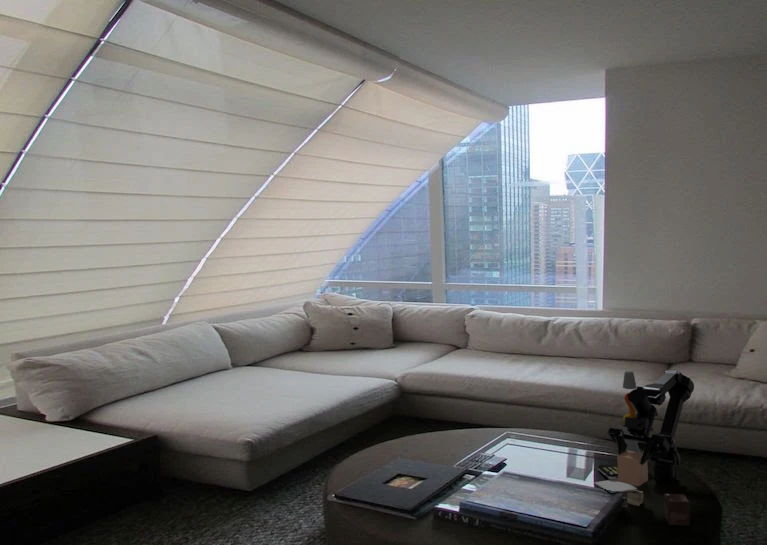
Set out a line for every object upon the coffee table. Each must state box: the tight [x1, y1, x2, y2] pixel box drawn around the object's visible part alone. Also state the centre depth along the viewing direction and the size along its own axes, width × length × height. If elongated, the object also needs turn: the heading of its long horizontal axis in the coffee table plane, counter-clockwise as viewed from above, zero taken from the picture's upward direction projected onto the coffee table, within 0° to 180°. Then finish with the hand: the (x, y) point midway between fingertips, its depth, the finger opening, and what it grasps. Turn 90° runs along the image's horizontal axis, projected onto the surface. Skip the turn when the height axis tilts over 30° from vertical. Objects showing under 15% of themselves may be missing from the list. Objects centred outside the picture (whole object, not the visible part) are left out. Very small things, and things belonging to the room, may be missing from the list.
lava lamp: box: [618, 370, 641, 453], centre depth 247 cm, size 9×9×35 cm
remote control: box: [597, 463, 618, 480], centre depth 237 cm, size 6×13×2 cm, turn 2°
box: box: [663, 493, 691, 526], centre depth 197 cm, size 6×6×7 cm
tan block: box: [616, 450, 649, 487], centre depth 212 cm, size 7×7×8 cm
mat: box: [593, 479, 638, 493], centre depth 226 cm, size 10×10×1 cm
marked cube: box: [626, 489, 644, 507], centre depth 212 cm, size 4×4×4 cm
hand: (630, 461), depth 211 cm, fingers closed on tan block, 7 cm apart
